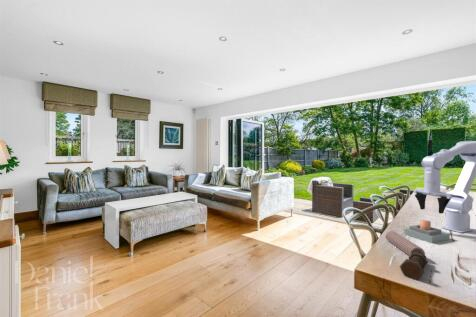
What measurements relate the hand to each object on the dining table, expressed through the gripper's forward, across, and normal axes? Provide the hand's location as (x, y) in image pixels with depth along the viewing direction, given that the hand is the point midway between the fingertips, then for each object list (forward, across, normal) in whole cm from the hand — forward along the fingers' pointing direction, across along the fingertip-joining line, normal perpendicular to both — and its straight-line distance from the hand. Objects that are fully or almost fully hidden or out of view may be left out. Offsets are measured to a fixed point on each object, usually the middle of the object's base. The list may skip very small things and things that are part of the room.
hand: (431, 211), depth 108 cm
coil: (+10, +8, -32) cm, 34 cm away
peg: (+10, +3, -10) cm, 14 cm away
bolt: (+10, +20, -43) cm, 49 cm away
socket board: (+10, +3, -8) cm, 13 cm away
